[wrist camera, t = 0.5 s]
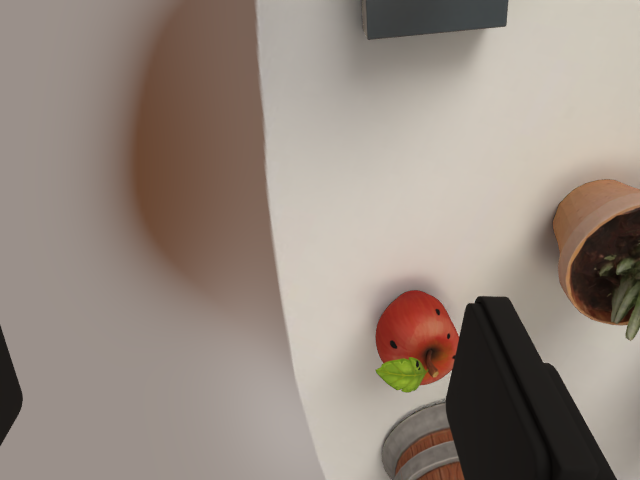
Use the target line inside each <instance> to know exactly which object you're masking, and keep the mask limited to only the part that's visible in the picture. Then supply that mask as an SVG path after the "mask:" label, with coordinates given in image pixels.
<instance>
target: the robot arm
mask: <svg viewBox="0 0 640 480" xmlns="http://www.w3.org/2000/svg"><path fill="white" fill-rule="evenodd" d="M22 401H23V397H22V391H21V388H20V385H19V382H18V379H17V376H16V373H15V370H14V367H13V364H12V360H11V358H10V354H9V351H8V348H7V345H6V342H5V339H4V335H3V333H2V329H1V326H0V445H1V444H2V442H3V440H4V439H5V437H6V435H7V433H8V432H9V430H10V428H11V426H12V424H13V423H14V421H15V419H16V418H17V416H18V414H19V412H20V410H21V407H22ZM446 415H447V419H448V423H449V426H450V430H451V433H452V437H453V440H454V444H455V447H456V451H457V455H458V458H459V462H460V465H461V469H462V472H463V476H464V479H465V480H617V479H616V477H615V475H614V473H613V471H612V470H611V468H610V466H609V464H608V462H607V461H606V459H605V457H604V455H603V453H602V452H601V450H600V448H599V446H598V444H597V442H596V441H595V439H594V437H593V435H592V433H591V432H590V430H589V428H588V426H587V424H586V422H585V421H584V419H583V417H582V415H581V413H580V412H579V410H578V408H577V406H576V404H575V403H574V401H573V399H572V397H571V395H570V393H569V392H568V390H567V388H566V386H565V384H564V383H563V381H562V379H561V377H560V375H559V373H558V372H557V370H556V369H555V368H554V366H552V365H551V364H549V363H543V361H542V360H541V358H540V356H539V354H538V352H537V350H536V348H535V346H534V344H533V343H532V341H531V339H530V337H529V335H528V333H527V331H526V329H525V327H524V326H523V324H522V322H521V320H520V318H519V316H518V314H517V312H516V310H515V309H514V307H513V305H512V303H511V301H510V300H509V298H507V297H487V296H479V297H477V299H476V301H475V303H469V304H467V306H466V309H465V314H464V318H463V323H462V327H461V332H460V337H459V341H458V346H457V350H456V355H455V360H454V364H453V369H452V373H451V378H450V383H449V387H448V392H447V396H446Z"/></svg>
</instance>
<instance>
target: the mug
mask: <svg viewBox="0 0 640 480" xmlns="http://www.w3.org/2000/svg"><path fill="white" fill-rule="evenodd" d="M382 462H383V465H384V469H385V471H386V472H387V474H388V475H389V477H390V478H391V479H392V480H465V479H464V476H463V472H462V469H461V465H460V462H459V458H458V455H457V451H456V447H455V444H454V440H453V437H452V433H451V430H450V426H449V423H448V419H447V415H446V403H441V404H436V405H433V406H430V407H427V408H424V409H422V410H420V411H418V412H416V413H414V414H412V415H411V416H409V417H408V418H406V419H405V420H404V421H402V422H401V423H400V424H399V425H398V426H397V427H396V428H395V429H394V430H393V431H392V432H391V433H390V435H389V437H388V438H387V440H386V442H385V444H384V447H383V451H382Z"/></svg>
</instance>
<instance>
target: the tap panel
mask: <svg viewBox="0 0 640 480" xmlns="http://www.w3.org/2000/svg"><path fill="white" fill-rule="evenodd" d="M507 11H508V0H362V22H363V31H364V33H365V35H366V37H367V39H368V40H372V39H382V38H392V37H403V36H413V35H423V34H434V33H444V32H454V31H465V30H475V29H485V28H496V27H505V26H506V23H507Z"/></svg>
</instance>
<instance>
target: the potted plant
mask: <svg viewBox="0 0 640 480" xmlns="http://www.w3.org/2000/svg"><path fill="white" fill-rule="evenodd" d="M553 230H554V233H555V236H556V239H557V242H558V246H559V251H560V258H559V263H558V273H559V280H560V284H561V286H562V288H563V290H564V292H565V293H566V295H567V297H568V298H569V300H570V301H571V302H572V304H573V305H574V306H575V307H576V308H577V309H578V311H579V312H581V313H582V314H584V315H585V316H587V317H588V318H590V319H592V320H595V321H598V322H602V323H607V324H612V325H628V326H627V330H626V338H627V339H629V340H630V341H631V340H633V338H634V337H635V335H636V334H637V332H638V330H639V328H640V190H639V189H636V188H633V187H630V186H628V185H625V184H623V183H620V182H618V181H616V180H608V179H607V180H597V181H593V182H589V183H586V184H584V185H582V186H579V187H577V188H576V189H575V190H573V191H572V192H571V193H569V194H568V195H567V196H566V197H565V198H564V200H563V201H562V202H561V203H560V204H559V206H558V209H557V212H556V215H555V217H554V220H553Z"/></svg>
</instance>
